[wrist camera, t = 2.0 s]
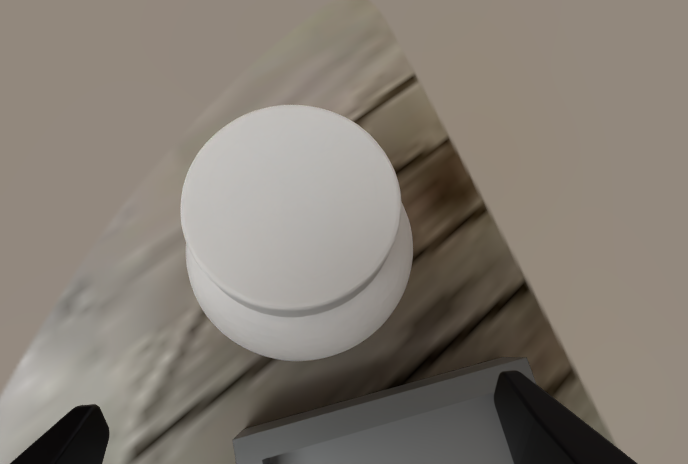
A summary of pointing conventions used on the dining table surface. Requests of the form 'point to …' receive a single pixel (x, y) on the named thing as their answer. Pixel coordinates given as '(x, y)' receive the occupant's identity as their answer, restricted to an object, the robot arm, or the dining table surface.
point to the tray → (395, 425)
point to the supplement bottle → (295, 232)
